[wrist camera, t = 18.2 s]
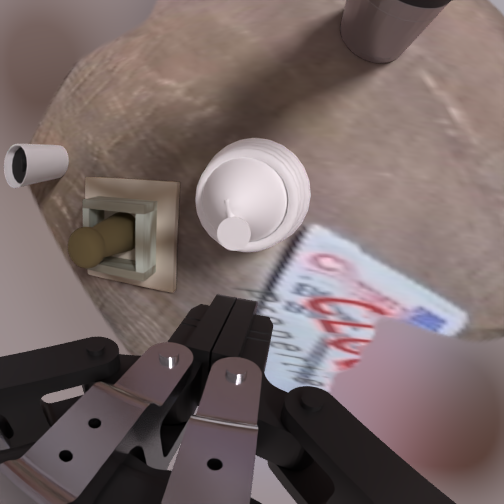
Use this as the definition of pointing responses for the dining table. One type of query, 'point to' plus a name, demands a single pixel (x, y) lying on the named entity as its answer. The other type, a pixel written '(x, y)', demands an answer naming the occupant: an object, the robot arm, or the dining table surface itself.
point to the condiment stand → (137, 229)
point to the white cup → (34, 164)
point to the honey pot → (252, 195)
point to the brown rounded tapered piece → (102, 240)
